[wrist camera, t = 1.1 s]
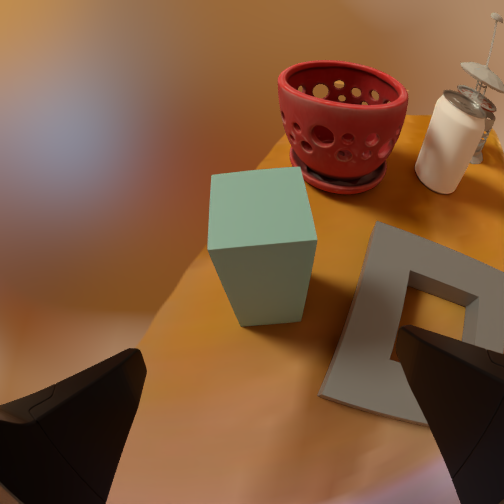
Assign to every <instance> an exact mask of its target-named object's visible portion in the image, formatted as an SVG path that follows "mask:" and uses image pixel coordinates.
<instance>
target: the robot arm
mask: <svg viewBox="0 0 504 504" xmlns="http://www.w3.org/2000/svg"><path fill="white" fill-rule="evenodd" d="M396 353H397V356H398V358H399V361H400V363H401V366H402V368H403V371H404V374H405V376H406V379H407V382H408V384H409V386H410V388H411V391H412V393H413V394H414V396H415V398H416V400H417V402H418V404H419V406H420V409H421V411H422V413H423V415H424V417H425V419H426V421H427V423H428V425H429V427H430V429H431V432H432V434H433V436H434V438H435V440H436V443H437V445H438V447H439V449H440V452H441V454H442V456H443V459H444V461H445V463H446V466H447V468H448V471H449V473H450V476H451V478H452V481H453V484H454V486H455V489H456V492H457V494H458V497H459V500H460V503H461V504H504V354H502V353H498V352H495V351H492V350H488V349H487V350H486V349H485V348H482V347H479V346H475V345H472V344H469V343H466V342H463V341H459V340H456V339H453V338H450V337H447V336H444V335H441V334H438V333H434V332H431V331H428V330H425V329H422V328H419V327H416V326H413V325H406V326H401V327H400V328H399V331H398V337H397V343H396ZM146 374H147V369H146V365H145V362H144V359H143V356H142V353H141V351H140V350H139V349H136V348H129V349H127V350H124V351H122V352H120V353H118V354H116V355H114V356H112V357H110V358H108V359H106V360H104V361H102V362H100V363H98V364H96V365H94V366H92V367H90V368H87V369H85V370H83V371H81V372H79V373H77V374H75V375H73V376H71V377H69V378H67V379H64V380H62V381H60V382H58V383H56V384H54V385H51V386H49V387H47V388H45V389H43V390H40V391H38V392H36V393H33V394H30V395H28V396H25V397H23V398H20V399H17V400H14V401H12V402H9V403H6V404H3V405H0V504H106V501H107V498H108V495H109V491H110V488H111V485H112V482H113V479H114V475H115V472H116V469H117V466H118V463H119V460H120V457H121V454H122V451H123V448H124V445H125V443H126V440H127V437H128V434H129V431H130V428H131V426H132V423H133V420H134V417H135V415H136V412H137V409H138V406H139V402H140V398H141V394H142V390H143V386H144V382H145V378H146Z"/></svg>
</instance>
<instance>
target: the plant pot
mask: <svg viewBox="0 0 504 504" xmlns="http://www.w3.org/2000/svg"><path fill="white" fill-rule="evenodd" d="M337 80H341V81H343V82H344V87H343V88H336V87H335V86H334V82H335V81H337ZM318 84H323V85H326V86H327V87H328V90H329V91H328V95H327V96H326V97H324V98H322V99H320V98H316V97H314V95H313V92H312V91H313V88H314V87H315V86H316V85H318ZM299 86H302V87H303V91H302V92H300V91H298V87H299ZM353 88H358V89H360V90H361V96H359V97H355V96H354V95H353V94H352V92H351V90H352V89H353ZM373 90H374V91H376V92H378V94H379V100H375V99H374V98H373V97H372V95H371V92H372V91H373ZM278 95H279V104H280V110H281V116H282V120H283V125H284V129H285V132H286V135H287V137H288V140H289V142H290V144H291V149H290V161H291V164H292V166H293V167H300V168H301V172H302V176H303V179H304V180H305V181H306V182H308V183H309V184H311V185H313V186H315V187H317V188H319V189H321V190H324V191H328V192H332V193H337V194H355V193H361V192H364V191H367V190H370V189H372V188H373V187H375V186H376V185H378V184H379V183H380V182H381V180H382V179H383V178H384V176H385V173H386V170H387V163H386V158H387V157H388V156H389V155H390V153H391V151H392V149H393V147H394V145H395V143H396V142H397V140H398V138H399V135H400V132H401V129H402V126H403V123H404V119H405V115H406V111H407V105H408V93H407V91H406V89H405V88H404V86H402V84H401V83H400V82H398V81H397V80H396V79H394V78H393V77H391V76H390V75H387V74H386V73H383V72H381V71H379V70H376V69H374V68H371V67H368V66H363V65H360V64H356V63H350V62H344V61H333V60H330V61H329V60H318V61H309V62H303V63H299V64H296V65H293V66H291V67H288V68H287V69H285V70H284V71H282V73H281V74H280V75H279V77H278ZM340 95H344V96H345V97H346V100H345V101H339V99H338V97H339V96H340ZM363 101H364V102H367V103H368V105H362V102H363ZM388 101H390V102H391V103H387V102H388Z"/></svg>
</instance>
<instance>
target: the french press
mask: <svg viewBox="0 0 504 504" xmlns="http://www.w3.org/2000/svg"><path fill="white" fill-rule="evenodd" d="M491 17H492V18H494V19H495V20H496V24H495V28H494V34H493V39H492V43H491V48H490V52H489V56H488V60H487V64H486V66H485V65H481V64H479V63H474V62H465V63H461V66H462V68H463V70H464V71H465V72H466V73H468V74H469V75H471V76H472V77H473V78H475V79H476V80H477V85H476V88H475V90H474V89H472V88H470V87H467V86H464V85H459V86H457V88H458V91H459V92H458V93H461V94H463V95H465V96H467V97H468V98H470V99H472V100H473V101H474V102H476V103H477V104H478V105H479V106H480V107H481V108H482V109H483V110H484V111H485V113H486V118H487V117H488V118H490V119H491V120H488V119H486V118H485V129H484V131H486V132H487V134H484V133H483V135H482V137H481V138H484V139H485V140H482V139H481V140H480V142H479V144H478V146H477V148H476V151H475V153H474V155H473V157H472V159H471V161H470V163H472V164H480V163H481V162H482V161H483V156H482V152H481V151H482V148H483V146H484V144H485V142H486V139H487V137H488V135H489V132H490V131H491V129H492V126H493V124H494V121H495V116H494V114H493V113H492V112H495V111H496V107H495V105H494V104H493V103H492V102H491V101H490V100H489V99H487V98H486V97H484V94H485V91H486V88H487V86H488V87H490V88H492V89H494V90H496V91H498V92H500V93H504V85H503V83H502V81H501V80H500V78H499V77H498V76H497V75H496V74H495V73H494V72H492V71H491V70H490V69H489V68H488V67H487V66H488V62H489V58H490V54H491V50H492V46H493V41H494V37H495V31H496V26H497V22H498V21H499V22H501V23H503V19H502V17H501V16H500V15H499V14H497V13H492V14H491ZM479 81H480V82H481V85H480V84H479ZM482 83H483V84H485V85H486V86H485V87H484V86H482ZM478 84H479V85H480V88H479V91H478V92H477V91H476V89H477V86H478ZM481 87H483V88H485V90H484V93H483V95H482V94H481V93H479V92H480V89H481ZM489 130H490V131H489ZM486 136H487V137H486ZM484 141H485V142H484Z"/></svg>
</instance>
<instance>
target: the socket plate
mask: <svg viewBox="0 0 504 504" xmlns="http://www.w3.org/2000/svg"><path fill="white" fill-rule="evenodd" d="M407 286H410V287H413V288H416V289H418V290H421V291H424V292H427V293H429V294H432V295H435V296H437V297H440V298H443V299H446V300H448V301H451V302H454V303H456V304H459V305H462V306H464V307H466V312H465V321H464V329H463V336H462V341H463V342H466V343H469V344H472V345H475V346H479V347H482V348H485V349H486V350H487V349H488V350H492V351H495V352H498V353H502V354H503V351H504V272H502V271H500V270H498V269H495V268H493V267H491V266H489V265H487V264H484V263H482V262H480V261H478V260H476V259H473V258H471V257H469V256H466V255H464V254H462V253H459V252H457V251H455V250H452V249H450V248H447V247H445V246H442V245H440V244H438V243H435V242H433V241H430V240H427V239H425V238H422V237H420V236H417V235H414V234H412V233H409V232H407V231H404V230H401V229H398V228H396V227H393V226H390V225H387V224H385V223H382V222H379V221H376V224H375V226H374V229H373V231H372V233H371V236H370V240H369V244H368V248H367V251H366V255H365V259H364V263H363V266H362V270H361V274H360V277H359V281H358V284H357V287H356V291H355V294H354V297H353V300H352V304H351V307H350V310H349V313H348V316H347V319H346V322H345V325H344V328H343V331H342V333H341V336H340V339H339V342H338V345H337V347H336V350H335V353H334V355H333V358H332V361H331V363H330V366H329V368H328V371H327V373H326V376H325V378H324V381H323V383H322V385H321V388H320V390H319V393H318V395H317V396H319V397H322V398H325V399H327V400H330V401H333V402H337V403H340V404H343V405H346V406H349V407H352V408H356V409H359V410H362V411H366V412H369V413H373V414H377V415H380V416H384V417H388V418H392V419H396V420H400V421H404V422H408V423H413V424H417V425H422V426H427V427H429V425H428V423H427V421H426V419H425V417H424V415H423V413H422V411H421V409H420V406H419V404H418V402H417V400H416V398H415V396H414V394H413V393H412V391H411V388H410V386H409V384H408V382H407V379H406V376H405V374H404V371H403V368H402V366H401V363H399V362H396V361H393V360H390V356H391V353H392V349H393V346H394V342H395V338H396V335H397V331H398V327H399V322H400V318H401V314H402V309H403V305H404V300H405V295H406V289H407Z"/></svg>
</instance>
